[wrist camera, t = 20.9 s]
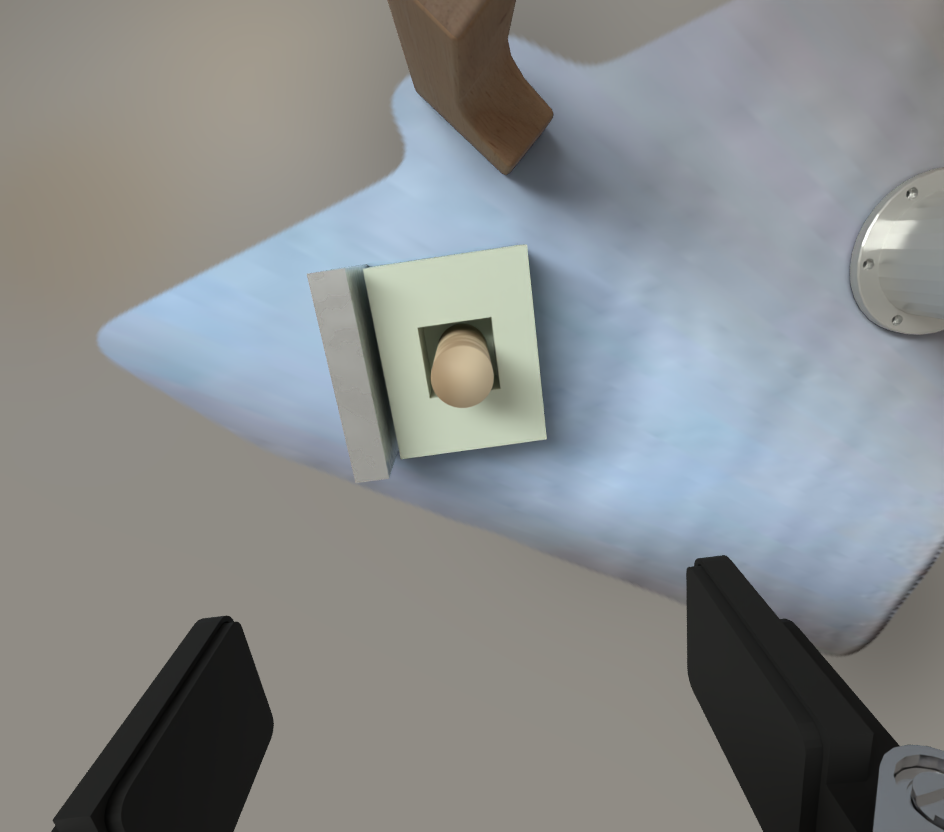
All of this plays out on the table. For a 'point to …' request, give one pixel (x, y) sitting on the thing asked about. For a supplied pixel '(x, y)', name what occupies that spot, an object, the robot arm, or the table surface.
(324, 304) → the backstop board
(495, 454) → the table surface
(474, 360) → the wooden dowel
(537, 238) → the table surface
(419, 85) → the wooden block
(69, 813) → the robot arm
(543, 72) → the table surface
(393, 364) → the socket block
